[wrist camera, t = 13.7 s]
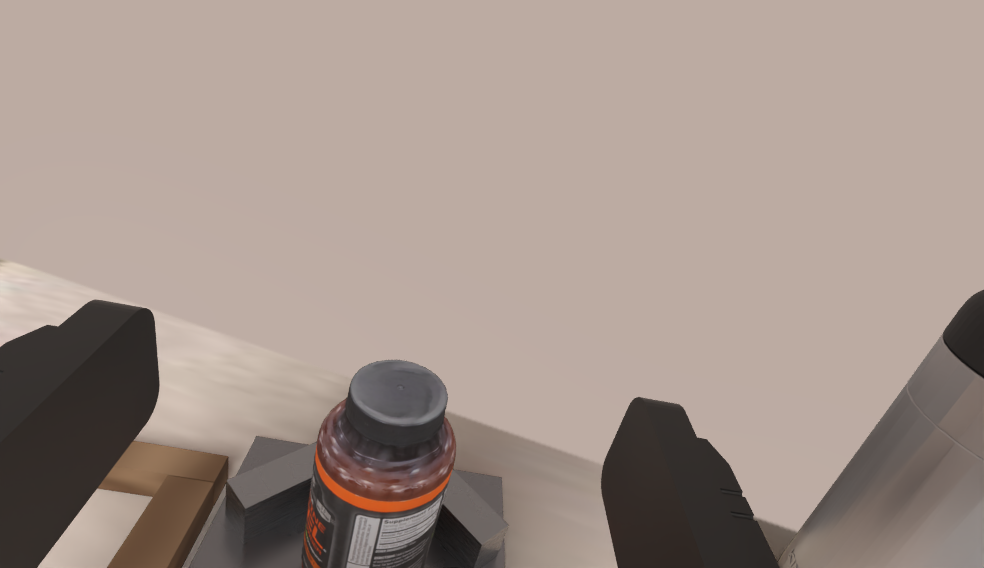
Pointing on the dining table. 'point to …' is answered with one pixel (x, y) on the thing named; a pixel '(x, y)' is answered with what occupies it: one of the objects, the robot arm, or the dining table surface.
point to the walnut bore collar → (166, 501)
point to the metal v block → (284, 503)
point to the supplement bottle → (380, 471)
